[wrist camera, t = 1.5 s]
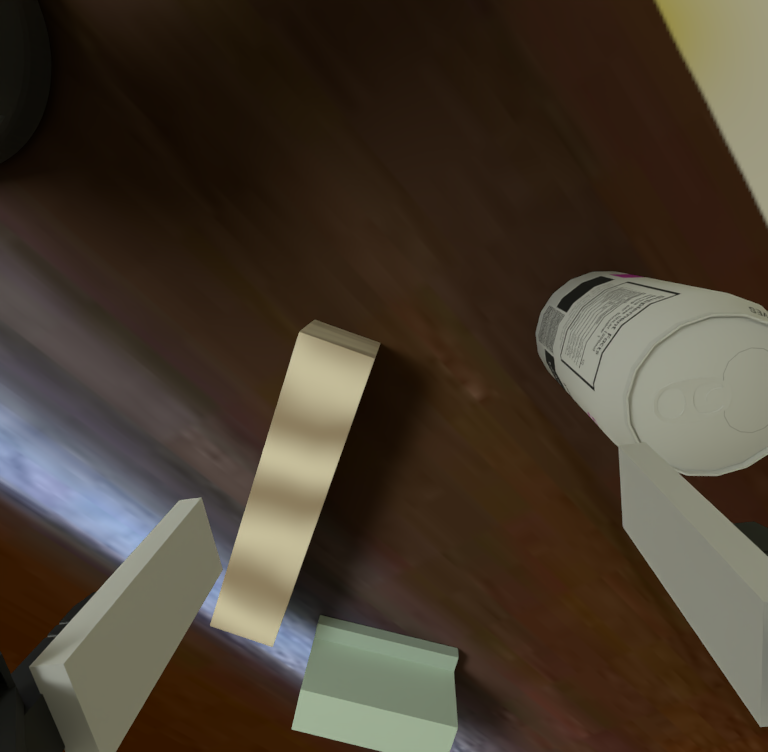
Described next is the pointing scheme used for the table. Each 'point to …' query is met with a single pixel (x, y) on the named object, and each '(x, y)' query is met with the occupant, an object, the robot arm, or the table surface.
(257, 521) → the beam
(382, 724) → the stepped block
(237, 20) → the table surface
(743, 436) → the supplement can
